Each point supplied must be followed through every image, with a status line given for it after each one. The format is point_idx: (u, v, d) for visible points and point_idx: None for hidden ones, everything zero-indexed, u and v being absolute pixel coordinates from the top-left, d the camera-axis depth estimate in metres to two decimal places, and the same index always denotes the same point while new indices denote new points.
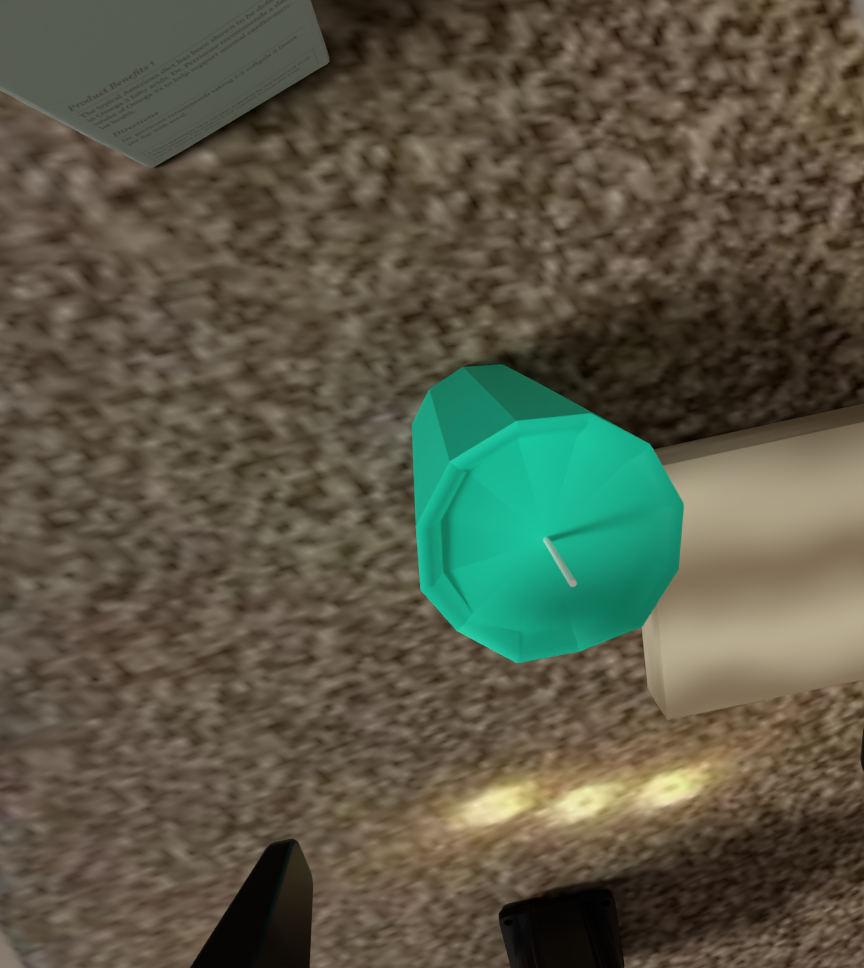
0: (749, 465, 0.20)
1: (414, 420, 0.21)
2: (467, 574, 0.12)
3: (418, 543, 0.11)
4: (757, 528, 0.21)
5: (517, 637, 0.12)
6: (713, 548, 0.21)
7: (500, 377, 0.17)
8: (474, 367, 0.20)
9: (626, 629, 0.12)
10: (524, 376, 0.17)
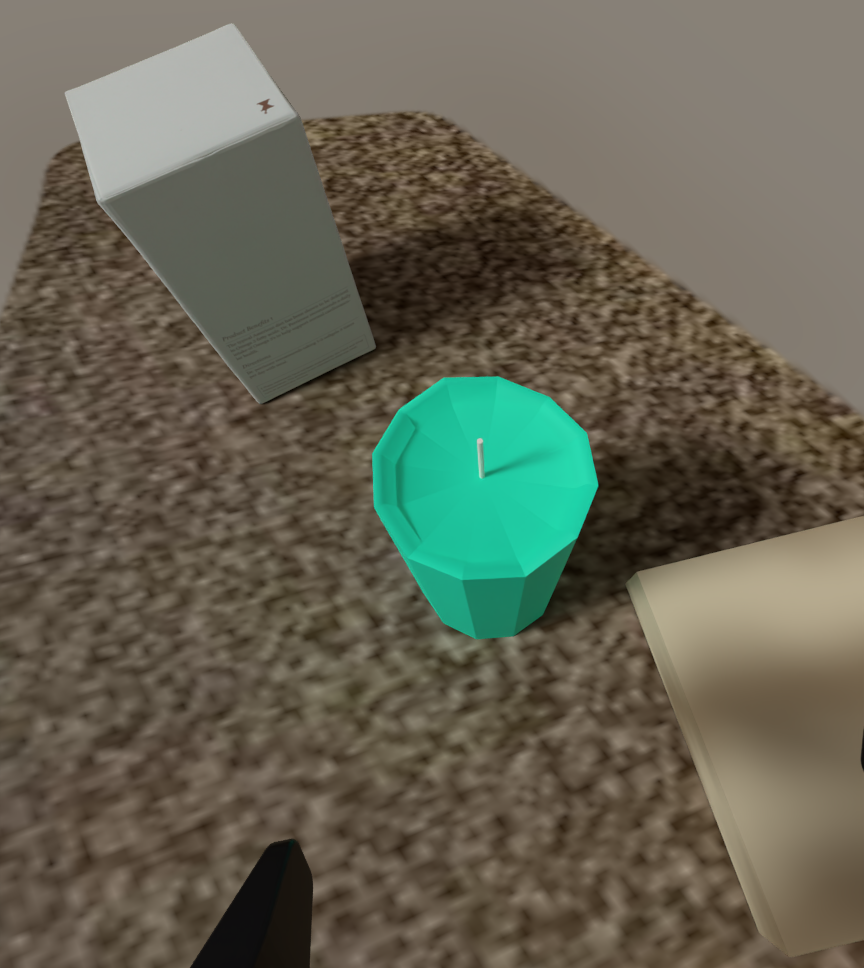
0: (743, 565, 0.20)
1: None
2: (417, 507, 0.14)
3: (373, 466, 0.14)
4: (786, 635, 0.19)
5: (463, 561, 0.13)
6: (744, 659, 0.19)
7: None
8: None
9: (563, 542, 0.13)
10: None
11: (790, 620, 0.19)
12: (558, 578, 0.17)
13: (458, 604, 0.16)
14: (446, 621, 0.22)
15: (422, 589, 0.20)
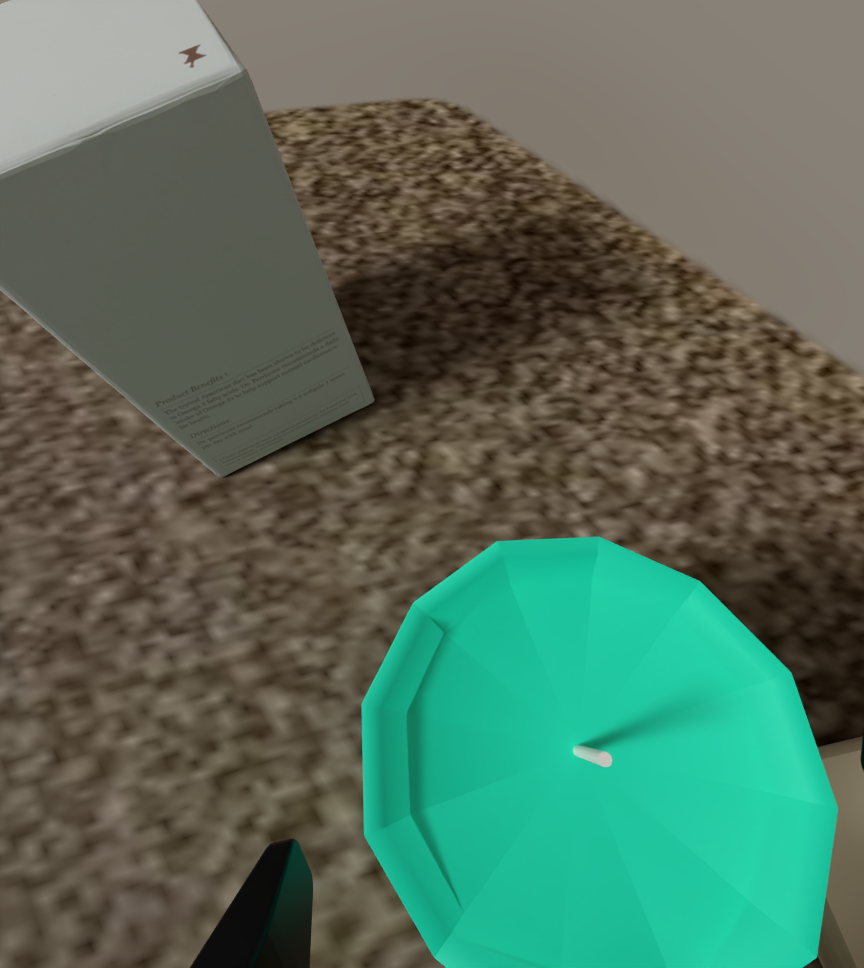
0: None
1: None
2: (451, 819, 0.07)
3: (363, 734, 0.07)
4: None
5: None
6: None
7: None
8: None
9: (784, 965, 0.06)
10: None
11: None
12: None
13: None
14: None
15: None
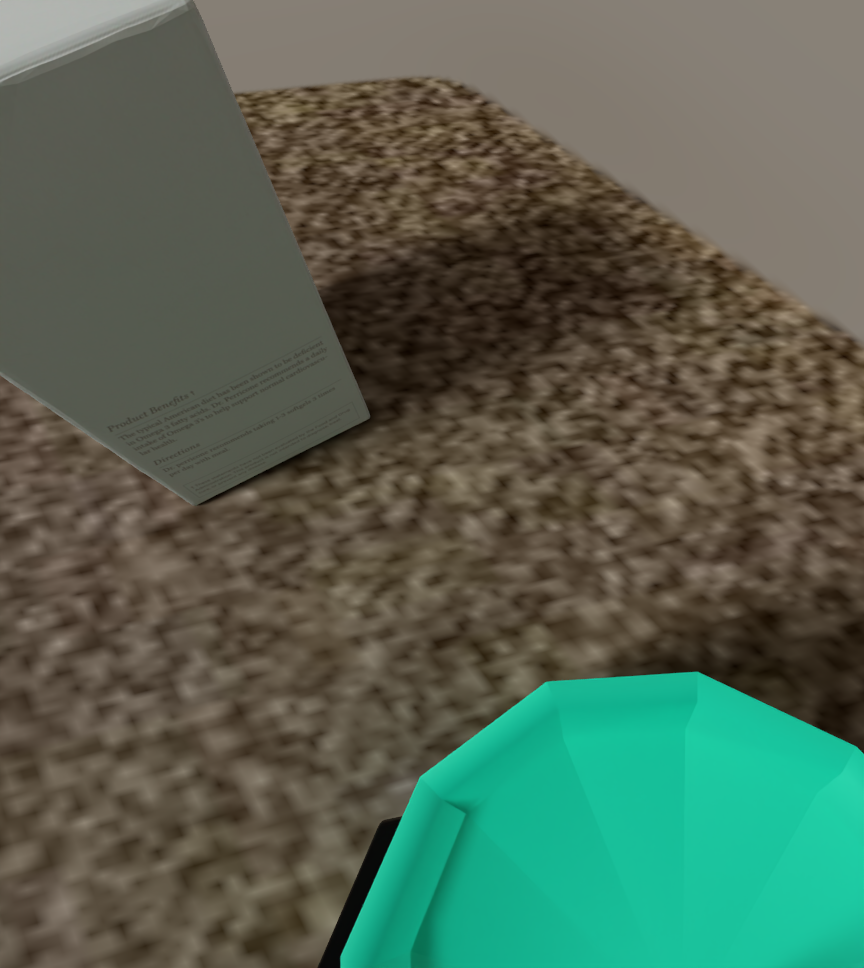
0: None
1: None
2: None
3: None
4: None
5: None
6: None
7: None
8: None
9: None
10: None
11: None
12: None
13: None
14: None
15: None
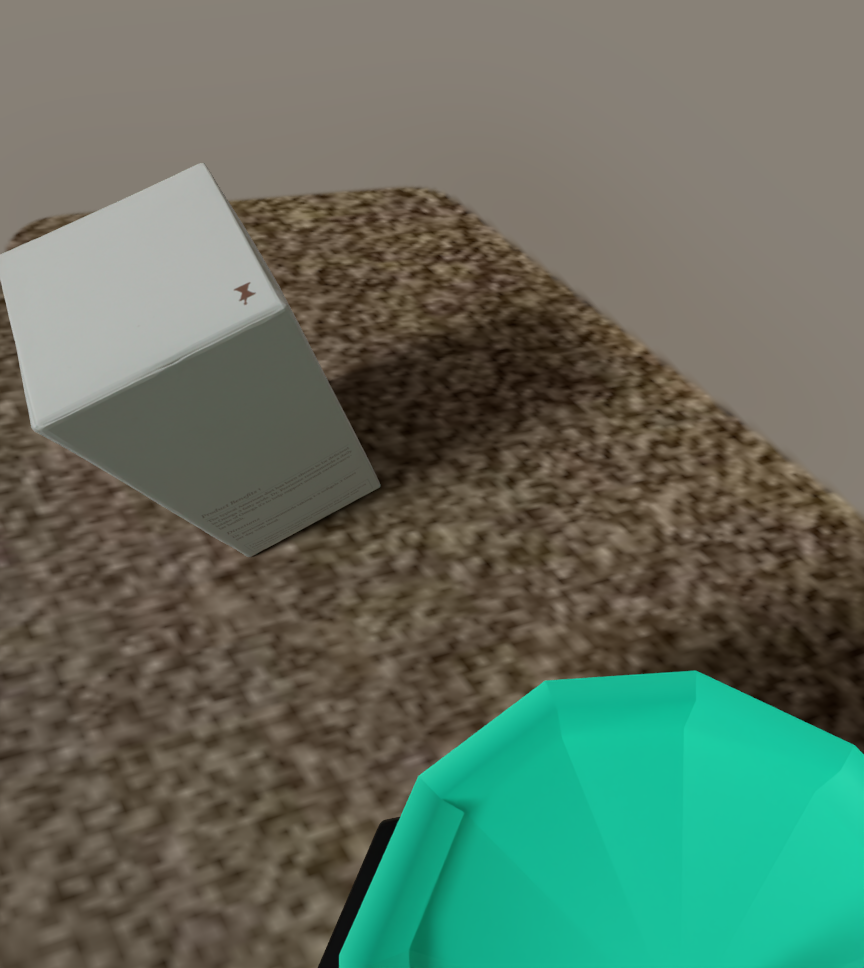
0: None
1: None
2: None
3: None
4: None
5: None
6: None
7: None
8: None
9: None
10: None
11: None
12: None
13: None
14: None
15: None
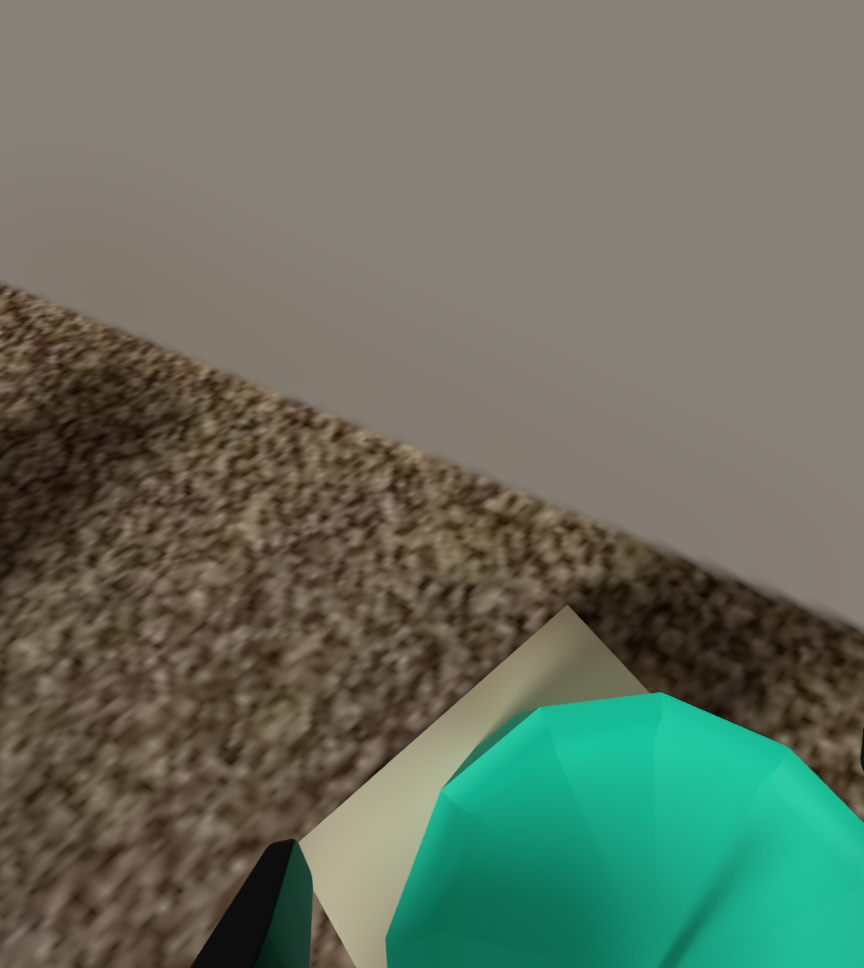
0: (412, 775, 0.16)
1: None
2: None
3: None
4: None
5: None
6: None
7: None
8: None
9: None
10: None
11: None
12: None
13: None
14: None
15: None
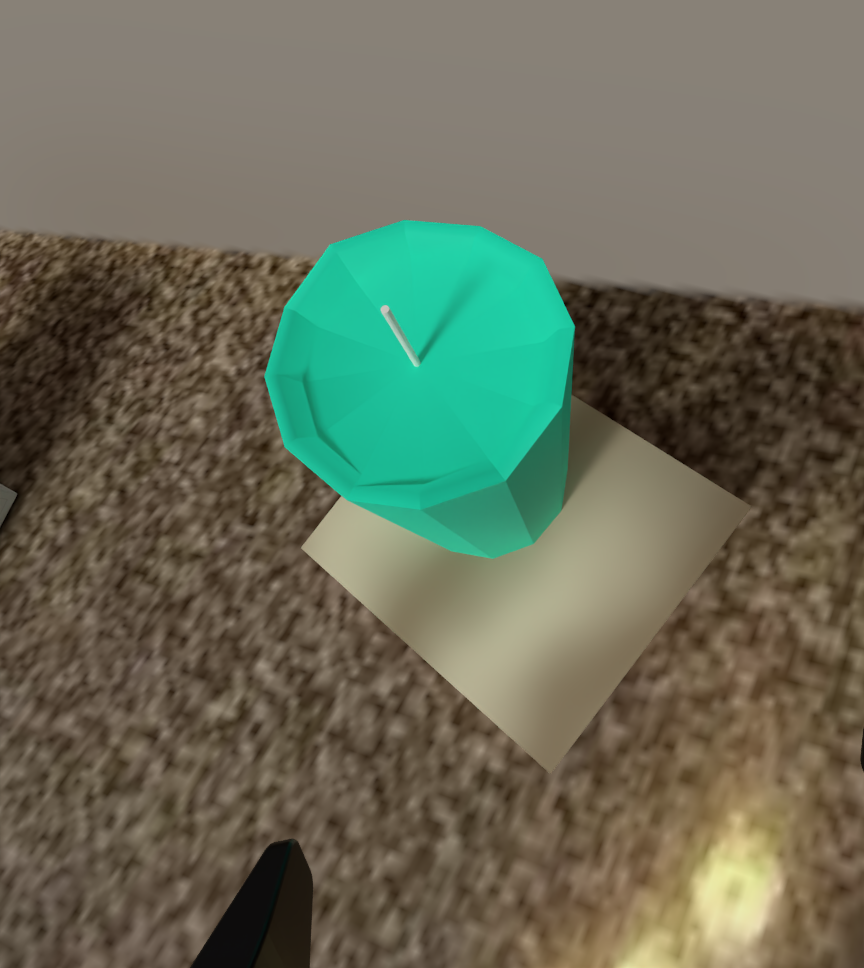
0: None
1: None
2: (344, 430, 0.10)
3: (269, 392, 0.10)
4: None
5: (418, 484, 0.10)
6: (412, 559, 0.20)
7: None
8: None
9: (544, 419, 0.09)
10: None
11: None
12: (560, 467, 0.13)
13: (445, 534, 0.13)
14: (452, 549, 0.18)
15: None
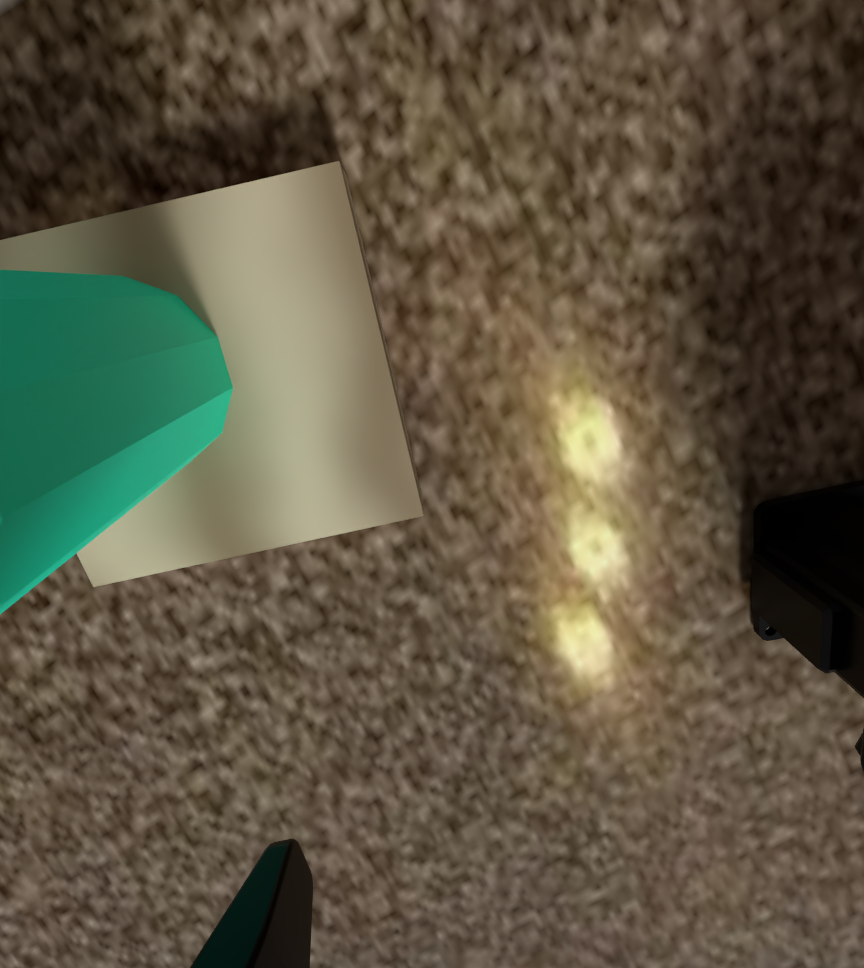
0: None
1: None
2: None
3: None
4: None
5: None
6: (173, 500, 0.18)
7: None
8: None
9: None
10: None
11: None
12: (105, 368, 0.10)
13: (105, 526, 0.11)
14: (181, 467, 0.16)
15: None
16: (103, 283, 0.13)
